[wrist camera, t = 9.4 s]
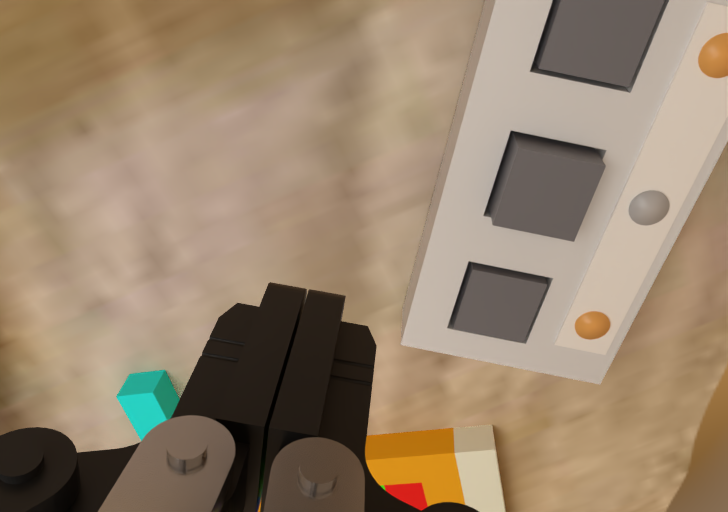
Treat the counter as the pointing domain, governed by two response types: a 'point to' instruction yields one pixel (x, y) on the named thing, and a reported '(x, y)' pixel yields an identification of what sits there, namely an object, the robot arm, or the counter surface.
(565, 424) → the counter surface
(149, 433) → the robot arm
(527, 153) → the button middle
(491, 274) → the button far
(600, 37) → the button near
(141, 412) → the puzzle game
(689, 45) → the button panel
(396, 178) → the counter surface
